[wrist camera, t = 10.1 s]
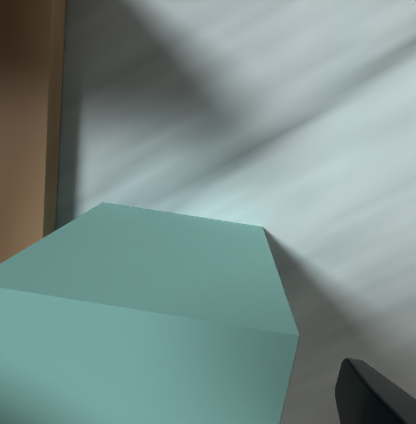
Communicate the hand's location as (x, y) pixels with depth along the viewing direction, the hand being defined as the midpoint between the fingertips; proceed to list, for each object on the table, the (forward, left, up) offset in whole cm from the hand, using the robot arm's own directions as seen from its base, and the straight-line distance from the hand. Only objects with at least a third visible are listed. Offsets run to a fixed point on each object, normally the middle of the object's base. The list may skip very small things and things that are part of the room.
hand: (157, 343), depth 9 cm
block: (0, 0, -3) cm, 3 cm away
